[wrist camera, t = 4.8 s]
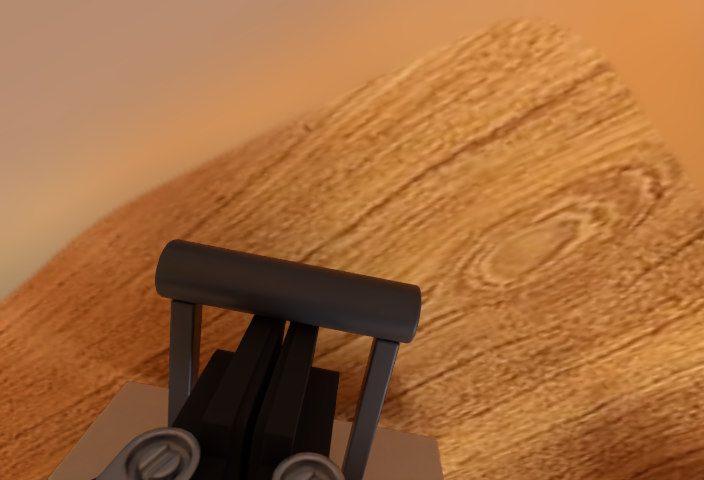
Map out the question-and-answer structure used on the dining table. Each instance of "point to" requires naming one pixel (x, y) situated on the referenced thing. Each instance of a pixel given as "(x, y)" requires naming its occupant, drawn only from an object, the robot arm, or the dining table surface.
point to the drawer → (281, 303)
